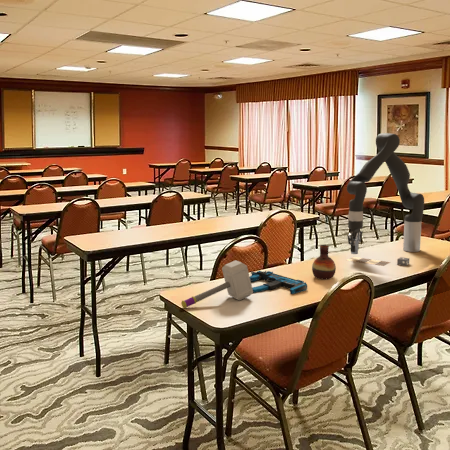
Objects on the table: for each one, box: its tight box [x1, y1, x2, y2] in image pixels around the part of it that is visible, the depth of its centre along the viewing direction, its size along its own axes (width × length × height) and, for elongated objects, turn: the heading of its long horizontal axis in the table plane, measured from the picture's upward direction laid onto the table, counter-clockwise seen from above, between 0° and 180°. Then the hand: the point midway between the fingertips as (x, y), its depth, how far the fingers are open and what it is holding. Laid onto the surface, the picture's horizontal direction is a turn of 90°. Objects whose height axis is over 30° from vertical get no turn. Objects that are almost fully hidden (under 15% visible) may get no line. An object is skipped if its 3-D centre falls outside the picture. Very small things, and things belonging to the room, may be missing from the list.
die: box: [396, 256, 410, 267], centre depth 272 cm, size 5×5×5 cm
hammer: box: [180, 260, 254, 309], centre depth 219 cm, size 15×8×30 cm
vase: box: [311, 244, 337, 281], centre depth 254 cm, size 11×11×15 cm
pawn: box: [350, 237, 359, 255], centre depth 283 cm, size 4×4×10 cm
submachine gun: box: [249, 270, 308, 295], centre depth 243 cm, size 34×4×25 cm
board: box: [347, 256, 391, 267], centre depth 280 cm, size 10×21×1 cm, turn 51°
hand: (354, 251), depth 284 cm, fingers closed on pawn, 3 cm apart
